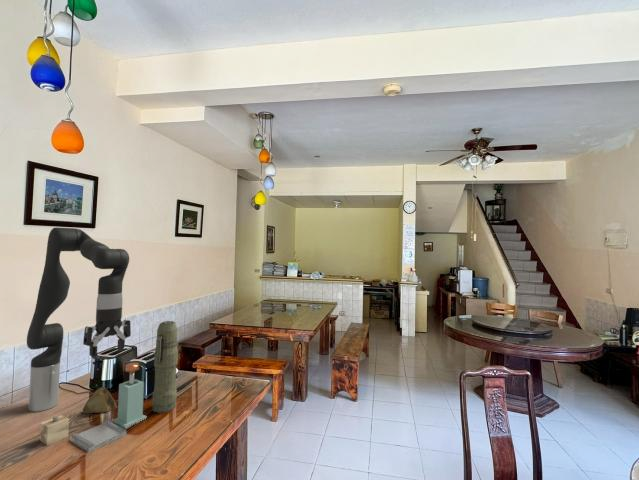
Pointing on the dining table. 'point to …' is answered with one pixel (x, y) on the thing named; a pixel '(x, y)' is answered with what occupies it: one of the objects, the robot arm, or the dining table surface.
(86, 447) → the grey square tray
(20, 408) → the dining table surface
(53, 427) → the block
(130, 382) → the plunger
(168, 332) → the thermos
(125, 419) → the column
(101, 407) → the rock
